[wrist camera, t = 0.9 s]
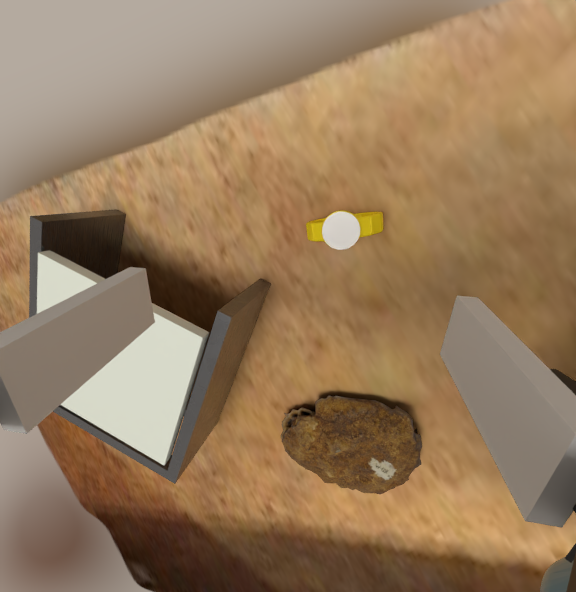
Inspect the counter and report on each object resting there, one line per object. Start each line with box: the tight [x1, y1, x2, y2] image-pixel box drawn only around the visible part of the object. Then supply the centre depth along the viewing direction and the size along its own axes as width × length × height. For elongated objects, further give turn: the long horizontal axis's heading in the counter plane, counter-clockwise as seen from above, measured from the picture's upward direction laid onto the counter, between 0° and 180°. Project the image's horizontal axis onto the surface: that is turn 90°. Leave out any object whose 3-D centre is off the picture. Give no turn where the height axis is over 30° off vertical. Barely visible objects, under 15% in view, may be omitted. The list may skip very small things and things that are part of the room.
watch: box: [306, 210, 384, 250], centre depth 24 cm, size 6×3×6 cm, turn 99°
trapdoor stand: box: [29, 210, 270, 483], centre depth 32 cm, size 19×21×9 cm
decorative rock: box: [281, 396, 422, 494], centre depth 33 cm, size 11×4×15 cm
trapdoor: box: [37, 250, 209, 465], centre depth 28 cm, size 16×16×1 cm
